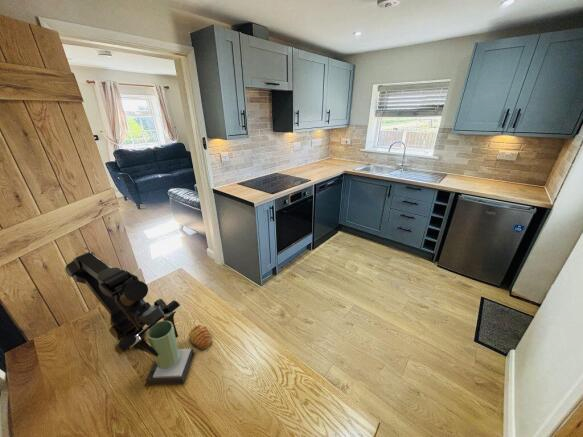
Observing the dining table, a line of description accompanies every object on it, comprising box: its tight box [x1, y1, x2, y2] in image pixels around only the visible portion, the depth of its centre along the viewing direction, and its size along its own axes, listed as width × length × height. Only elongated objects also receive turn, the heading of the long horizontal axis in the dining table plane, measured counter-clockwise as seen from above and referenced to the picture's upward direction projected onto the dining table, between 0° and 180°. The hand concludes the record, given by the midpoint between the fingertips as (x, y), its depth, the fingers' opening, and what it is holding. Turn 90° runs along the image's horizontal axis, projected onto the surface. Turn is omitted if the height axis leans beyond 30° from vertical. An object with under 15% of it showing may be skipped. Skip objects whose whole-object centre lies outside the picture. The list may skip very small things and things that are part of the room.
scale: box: [145, 348, 195, 386], centre depth 78 cm, size 11×10×3 cm
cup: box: [146, 320, 180, 369], centre depth 74 cm, size 7×7×13 cm
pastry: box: [188, 324, 212, 350], centre depth 87 cm, size 9×7×4 cm
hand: (167, 346), depth 73 cm, fingers closed on cup, 7 cm apart
